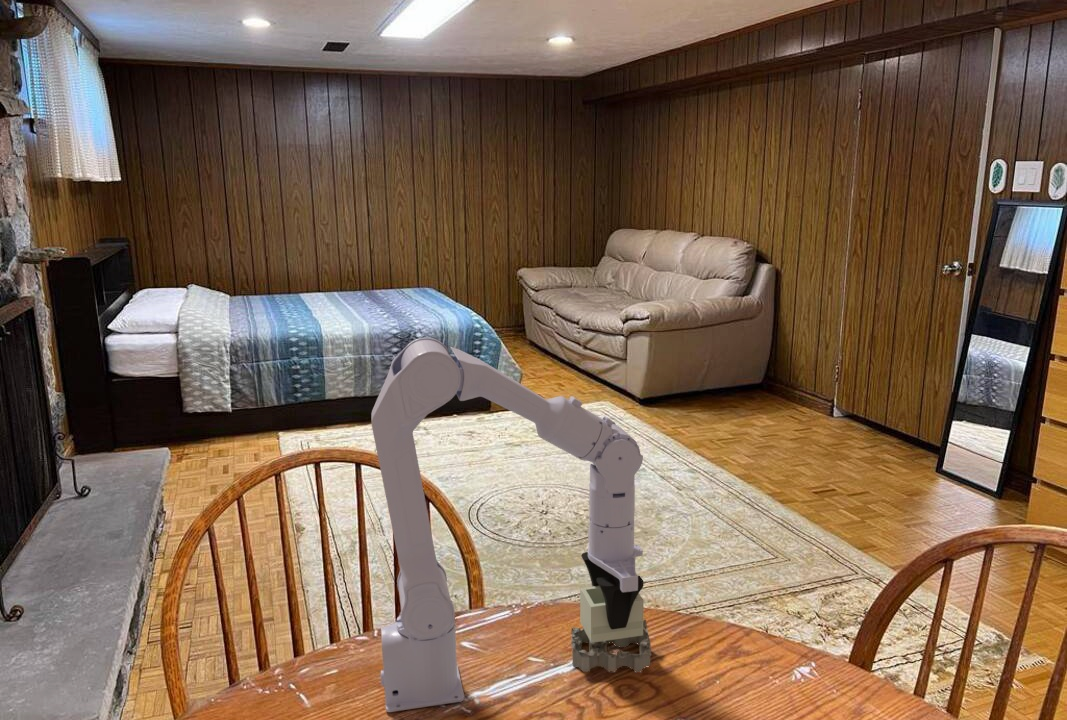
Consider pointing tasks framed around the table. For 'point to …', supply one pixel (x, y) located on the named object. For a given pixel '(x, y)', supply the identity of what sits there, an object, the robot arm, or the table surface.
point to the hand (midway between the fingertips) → (611, 616)
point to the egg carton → (602, 657)
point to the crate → (596, 617)
